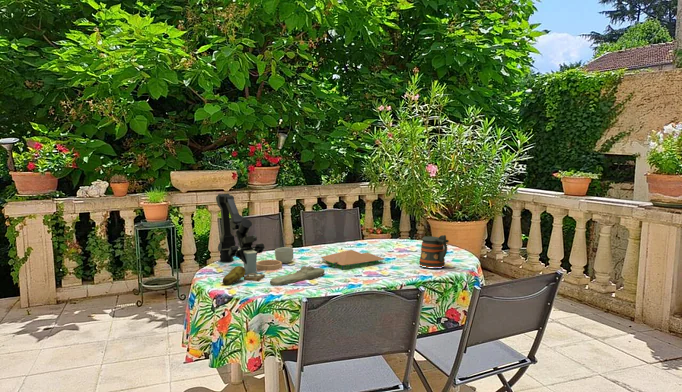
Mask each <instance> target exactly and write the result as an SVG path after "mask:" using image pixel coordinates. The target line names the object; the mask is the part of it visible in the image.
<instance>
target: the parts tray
mask: <svg viewBox="0 0 682 392" xmlns="http://www.w3.org/2000/svg"><path fill="white" fill-rule="evenodd" d="M256 274H257V273H256ZM256 274H253V273H250V274H248V275H244V277H243V281H248V282H249V281H250V282H260V281H261V280H263V279H265V277H266V274H265V273H264V274H263V273H259V274H260V275H261V276H260V277H258V278H252V277H249V275H256Z"/></svg>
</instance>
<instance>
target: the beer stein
mask: <svg viewBox="0 0 682 392" xmlns="http://www.w3.org/2000/svg"><path fill="white" fill-rule="evenodd" d="M421 240H422V242H421V246H420V251H421V252H420V257H419V262H418V263H419V264H420V265H422V266H426V267H442V266H444V265H445V266H446V264H445V263H446V262H445V260H446V259H445V258H446V256H447V252H448V245H447V243H449V239H447V236H446V234H444V235H440V236H432V235H431V236H426V235H424V236H423V237H422V238H421ZM419 264H418V265H419Z"/></svg>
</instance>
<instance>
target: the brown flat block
mask: <svg viewBox="0 0 682 392" xmlns="http://www.w3.org/2000/svg"><path fill="white" fill-rule="evenodd" d="M320 258H321V259H322V260H321V261H322V263H325V264H327V265H329V267H331V268H334V269H336V267H338V269H339V270H340V269H341V270H342V271H343V270H344V267H346V270H348V269H355V267H358V266H359V268H361V267H362V266H365V263H366V265H367V266H368V265H369V266H370V265H371V263H372V262H373V265H375V264H376V265H377V264H378V262H379V261H380V262H381V261H384V260H385V257H381V256H379V255H375V254H372V253H369V252H363V253H361V252H358V251H356V250H354V249H350V250H349V249H348V250H344V251H340V252H336V253H332V254H328V255H327V254H326V255H323V256H320ZM369 262H371V263H369Z"/></svg>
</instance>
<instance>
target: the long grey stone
mask: <svg viewBox="0 0 682 392" xmlns="http://www.w3.org/2000/svg"><path fill="white" fill-rule="evenodd" d="M324 274H325V269H324V268H321V267H313V266H305V265H304V266H302V267H301V268H300V269H299V270H296V272H294V273H289V274H285V275H283V276H279V277H278V276H277V277H275V278H274V277H273V278H271V280H270V281H269V283H270V285H271V286H274V287H278V286H279V287H281V286H283V285H288V284H293V283H298V282H303V281H306V280H313V279H315V278H319V277H320V276H323V275H324Z"/></svg>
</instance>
